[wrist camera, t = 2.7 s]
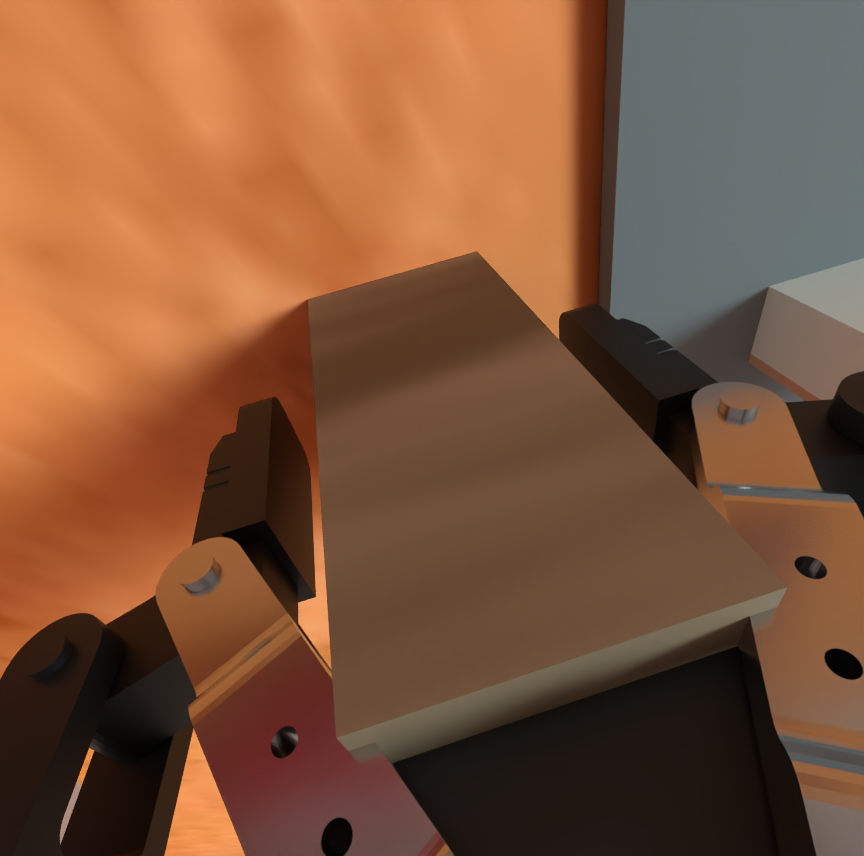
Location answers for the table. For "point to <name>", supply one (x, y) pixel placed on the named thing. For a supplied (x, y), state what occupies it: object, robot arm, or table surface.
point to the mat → (727, 165)
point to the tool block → (497, 519)
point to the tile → (813, 331)
